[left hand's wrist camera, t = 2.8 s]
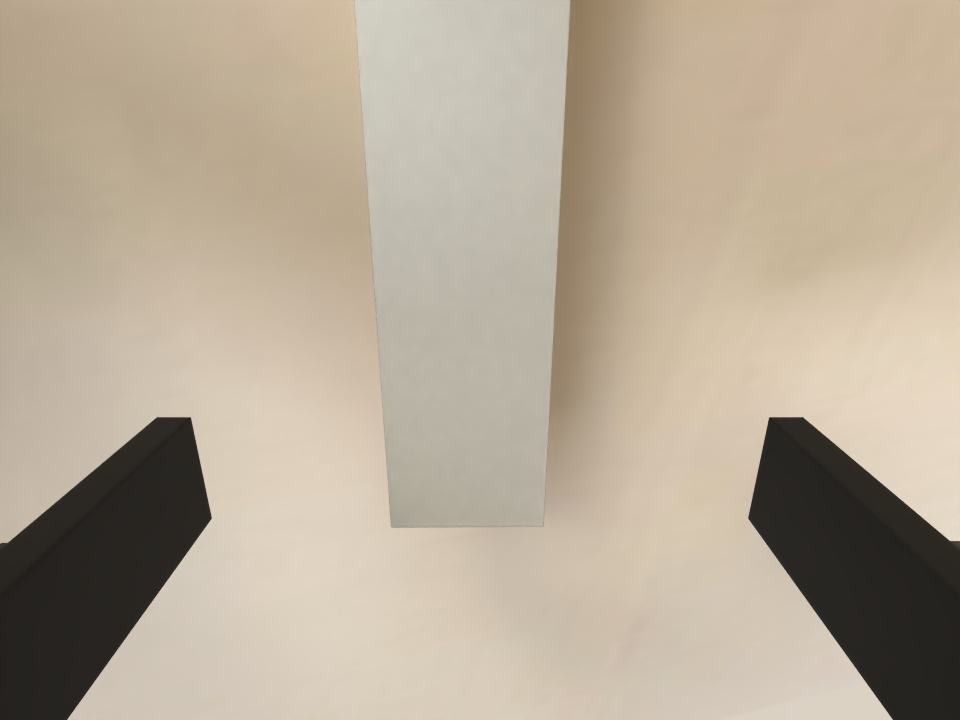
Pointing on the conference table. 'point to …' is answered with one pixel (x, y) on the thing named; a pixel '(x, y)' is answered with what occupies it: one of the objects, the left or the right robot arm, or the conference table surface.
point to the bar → (464, 248)
